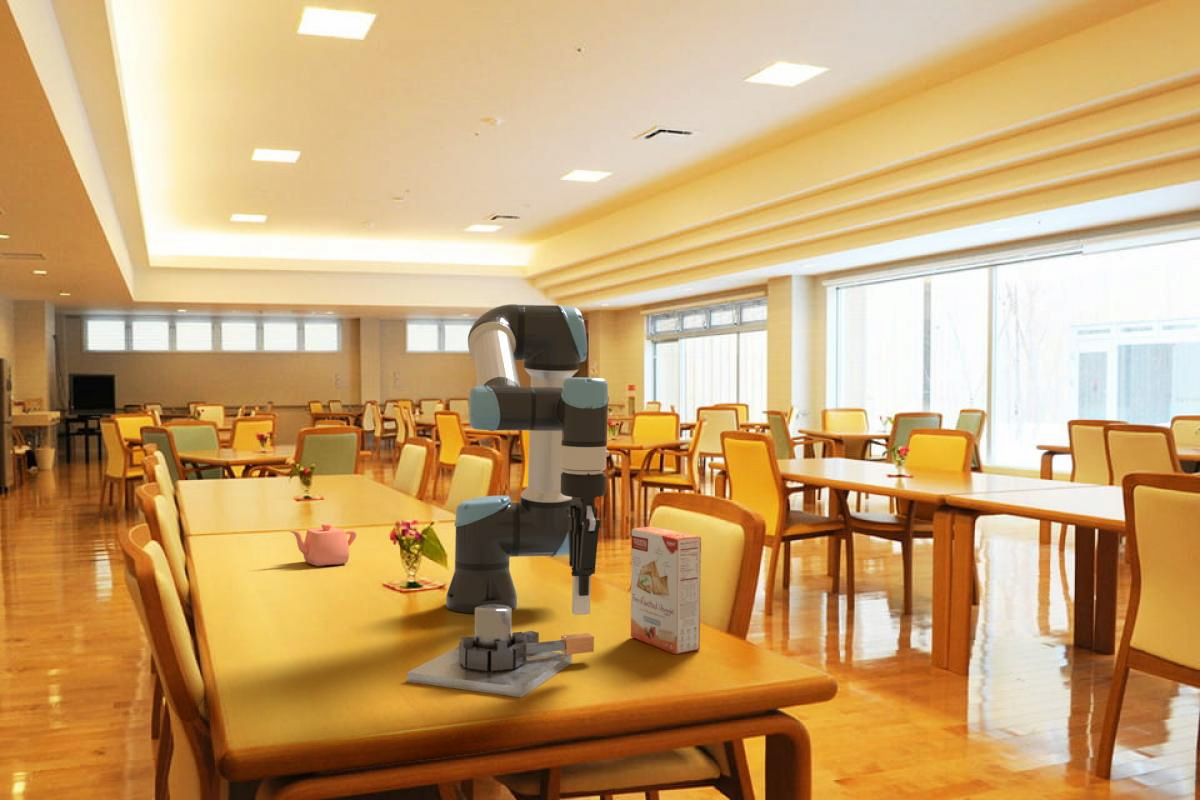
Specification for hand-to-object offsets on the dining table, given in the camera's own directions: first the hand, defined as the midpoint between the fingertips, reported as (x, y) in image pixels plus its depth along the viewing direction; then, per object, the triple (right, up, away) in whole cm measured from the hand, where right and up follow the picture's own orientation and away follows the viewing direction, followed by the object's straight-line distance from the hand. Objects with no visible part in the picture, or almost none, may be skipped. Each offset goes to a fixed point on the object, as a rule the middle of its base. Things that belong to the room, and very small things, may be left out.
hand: (581, 613), depth 158 cm
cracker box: (+15, -10, +18) cm, 26 cm away
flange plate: (-15, -10, 0) cm, 17 cm away
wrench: (-9, -8, +2) cm, 12 cm away
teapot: (-70, -8, +94) cm, 117 cm away
